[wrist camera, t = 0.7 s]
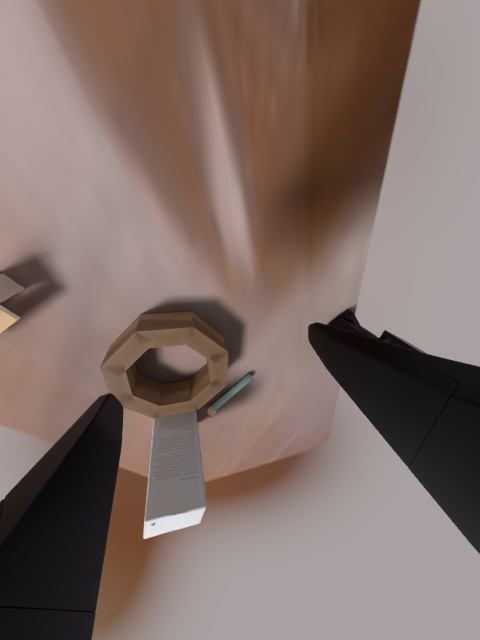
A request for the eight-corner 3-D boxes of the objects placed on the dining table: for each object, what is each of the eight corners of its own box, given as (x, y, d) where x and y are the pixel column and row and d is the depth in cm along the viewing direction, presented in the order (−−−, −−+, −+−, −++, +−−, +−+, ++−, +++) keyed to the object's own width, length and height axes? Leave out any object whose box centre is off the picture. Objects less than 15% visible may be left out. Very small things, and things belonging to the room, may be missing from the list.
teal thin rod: (246, 372, 29) (249, 379, 28) (252, 376, 30) (255, 382, 29) (204, 407, 31) (206, 415, 30) (211, 410, 32) (212, 418, 30)
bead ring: (240, 349, 27) (248, 366, 24) (178, 404, 29) (178, 426, 26) (164, 290, 20) (162, 304, 17) (89, 366, 22) (76, 391, 19)
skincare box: (152, 429, 30) (140, 540, 20) (154, 410, 28) (142, 522, 18) (193, 425, 32) (200, 524, 22) (197, 408, 30) (207, 507, 20)
